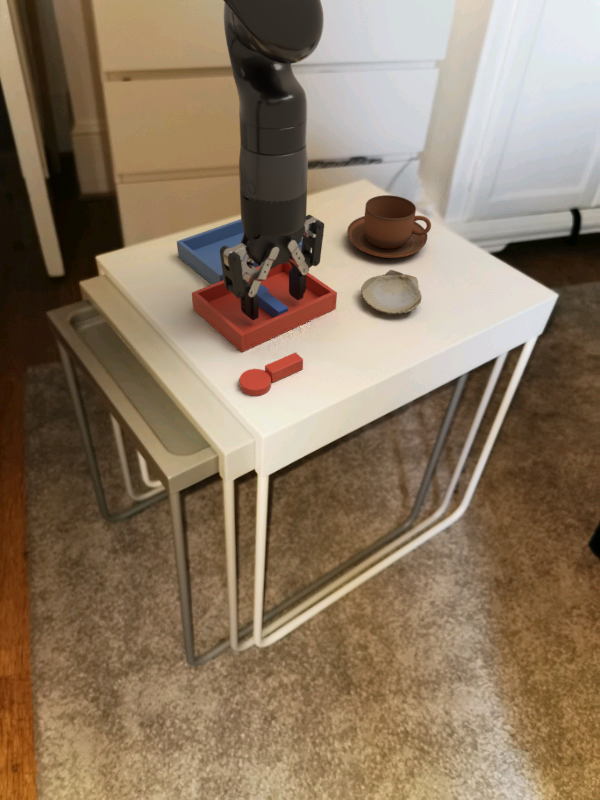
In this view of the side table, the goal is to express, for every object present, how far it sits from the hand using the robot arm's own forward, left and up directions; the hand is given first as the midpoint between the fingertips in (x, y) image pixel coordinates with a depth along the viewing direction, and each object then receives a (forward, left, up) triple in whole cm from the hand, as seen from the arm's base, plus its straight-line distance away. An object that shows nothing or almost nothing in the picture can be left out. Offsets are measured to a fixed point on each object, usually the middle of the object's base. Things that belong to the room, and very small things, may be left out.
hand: (273, 306), depth 82 cm
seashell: (+12, -11, -2) cm, 16 cm away
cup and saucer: (+25, -3, -2) cm, 25 cm away
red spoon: (-10, -7, -2) cm, 12 cm away
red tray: (+1, +2, -2) cm, 3 cm away
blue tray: (+9, +12, -2) cm, 15 cm away
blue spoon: (+1, +2, -1) cm, 2 cm away
